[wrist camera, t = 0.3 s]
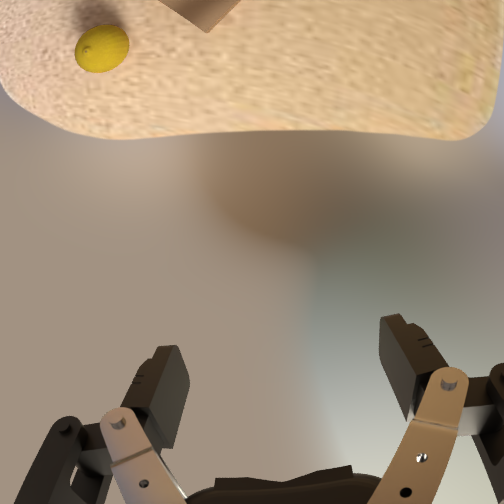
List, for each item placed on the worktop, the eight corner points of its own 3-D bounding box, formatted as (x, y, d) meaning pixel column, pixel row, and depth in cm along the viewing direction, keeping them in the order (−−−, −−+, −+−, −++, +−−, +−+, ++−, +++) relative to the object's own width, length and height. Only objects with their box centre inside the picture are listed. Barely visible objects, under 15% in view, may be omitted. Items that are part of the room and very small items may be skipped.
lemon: (147, 39, 29) (122, 42, 22) (119, 75, 31) (90, 88, 25) (114, 16, 26) (82, 15, 20) (87, 53, 29) (53, 61, 22)
